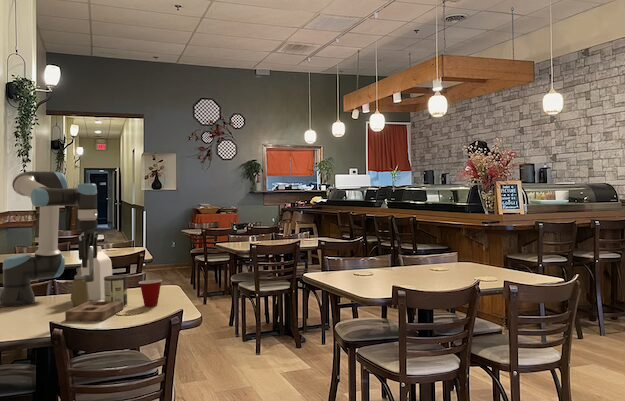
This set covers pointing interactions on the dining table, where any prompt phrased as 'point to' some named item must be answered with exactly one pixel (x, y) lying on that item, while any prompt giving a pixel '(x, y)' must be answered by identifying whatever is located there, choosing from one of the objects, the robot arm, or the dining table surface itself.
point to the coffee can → (116, 288)
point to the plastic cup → (150, 292)
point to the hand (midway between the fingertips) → (88, 274)
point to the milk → (99, 275)
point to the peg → (90, 266)
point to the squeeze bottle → (79, 289)
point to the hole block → (94, 311)
